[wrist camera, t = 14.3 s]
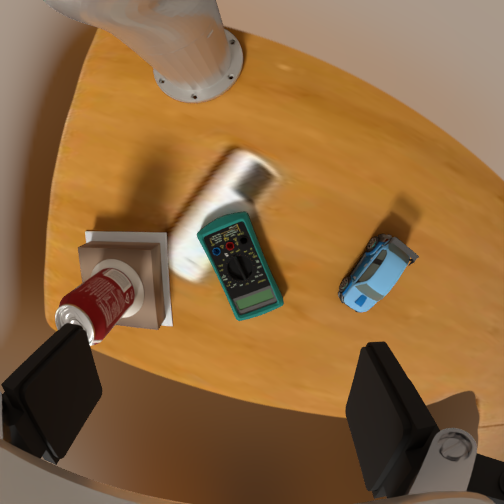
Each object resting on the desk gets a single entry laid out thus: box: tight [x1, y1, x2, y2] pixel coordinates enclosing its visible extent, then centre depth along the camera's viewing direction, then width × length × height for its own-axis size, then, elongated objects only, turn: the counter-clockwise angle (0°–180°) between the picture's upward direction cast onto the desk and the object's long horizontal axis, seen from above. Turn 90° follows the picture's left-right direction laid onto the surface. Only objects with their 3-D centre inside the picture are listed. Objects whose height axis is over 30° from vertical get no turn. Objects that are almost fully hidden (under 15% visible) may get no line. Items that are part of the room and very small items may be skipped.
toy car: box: [338, 234, 419, 312], centre depth 40 cm, size 6×12×6 cm, turn 148°
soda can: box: [55, 268, 135, 345], centre depth 34 cm, size 7×7×12 cm
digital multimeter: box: [197, 212, 284, 321], centre depth 42 cm, size 7×15×3 cm, turn 23°
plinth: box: [78, 241, 166, 330], centre depth 42 cm, size 12×12×4 cm
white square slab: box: [85, 231, 173, 326], centre depth 44 cm, size 15×14×1 cm
